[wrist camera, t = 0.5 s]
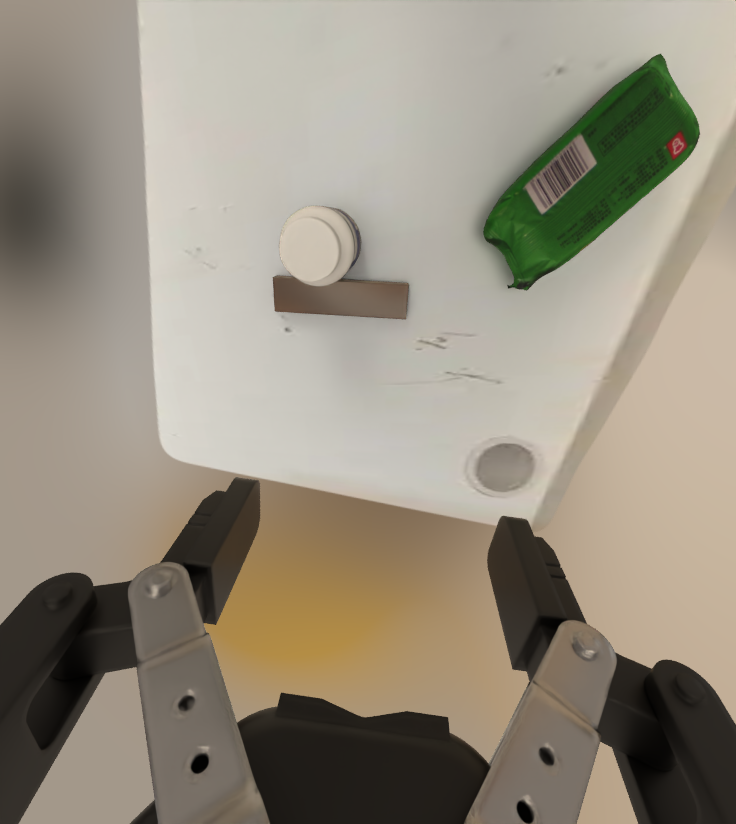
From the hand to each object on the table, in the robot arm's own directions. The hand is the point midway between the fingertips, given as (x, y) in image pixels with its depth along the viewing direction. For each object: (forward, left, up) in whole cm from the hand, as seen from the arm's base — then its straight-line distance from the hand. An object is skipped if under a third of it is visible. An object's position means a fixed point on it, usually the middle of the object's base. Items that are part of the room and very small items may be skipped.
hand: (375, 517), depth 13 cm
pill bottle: (-7, -6, -27) cm, 29 cm away
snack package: (-12, +13, -27) cm, 32 cm away
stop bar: (-2, -5, -27) cm, 27 cm away
